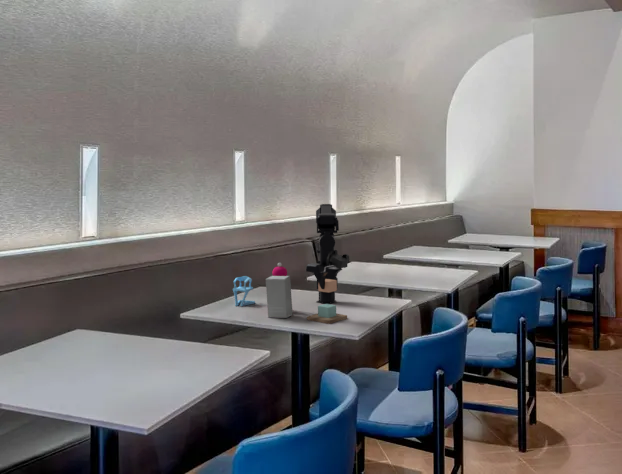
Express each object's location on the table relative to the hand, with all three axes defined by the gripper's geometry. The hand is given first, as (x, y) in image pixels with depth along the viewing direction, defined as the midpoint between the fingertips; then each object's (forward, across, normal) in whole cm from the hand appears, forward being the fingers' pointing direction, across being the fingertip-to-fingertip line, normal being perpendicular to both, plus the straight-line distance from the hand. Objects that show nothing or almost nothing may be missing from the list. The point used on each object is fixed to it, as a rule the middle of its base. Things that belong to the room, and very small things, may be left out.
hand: (327, 288), depth 230 cm
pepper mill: (+12, -1, +24) cm, 27 cm away
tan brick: (+1, 0, 0) cm, 1 cm away
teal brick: (+11, 0, 0) cm, 11 cm away
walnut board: (+12, 0, 0) cm, 12 cm away
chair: (+12, -1, +46) cm, 47 cm away
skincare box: (+12, -8, +18) cm, 23 cm away
